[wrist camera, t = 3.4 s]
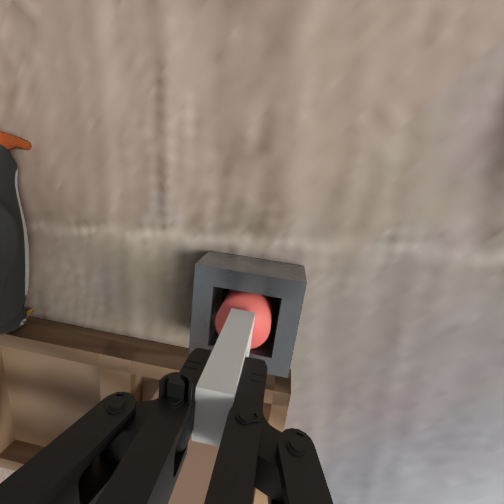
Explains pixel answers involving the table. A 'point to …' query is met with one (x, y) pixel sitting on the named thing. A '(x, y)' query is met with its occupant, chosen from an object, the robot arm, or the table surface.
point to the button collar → (252, 281)
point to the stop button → (253, 304)
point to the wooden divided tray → (86, 382)
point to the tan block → (194, 472)
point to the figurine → (12, 240)
